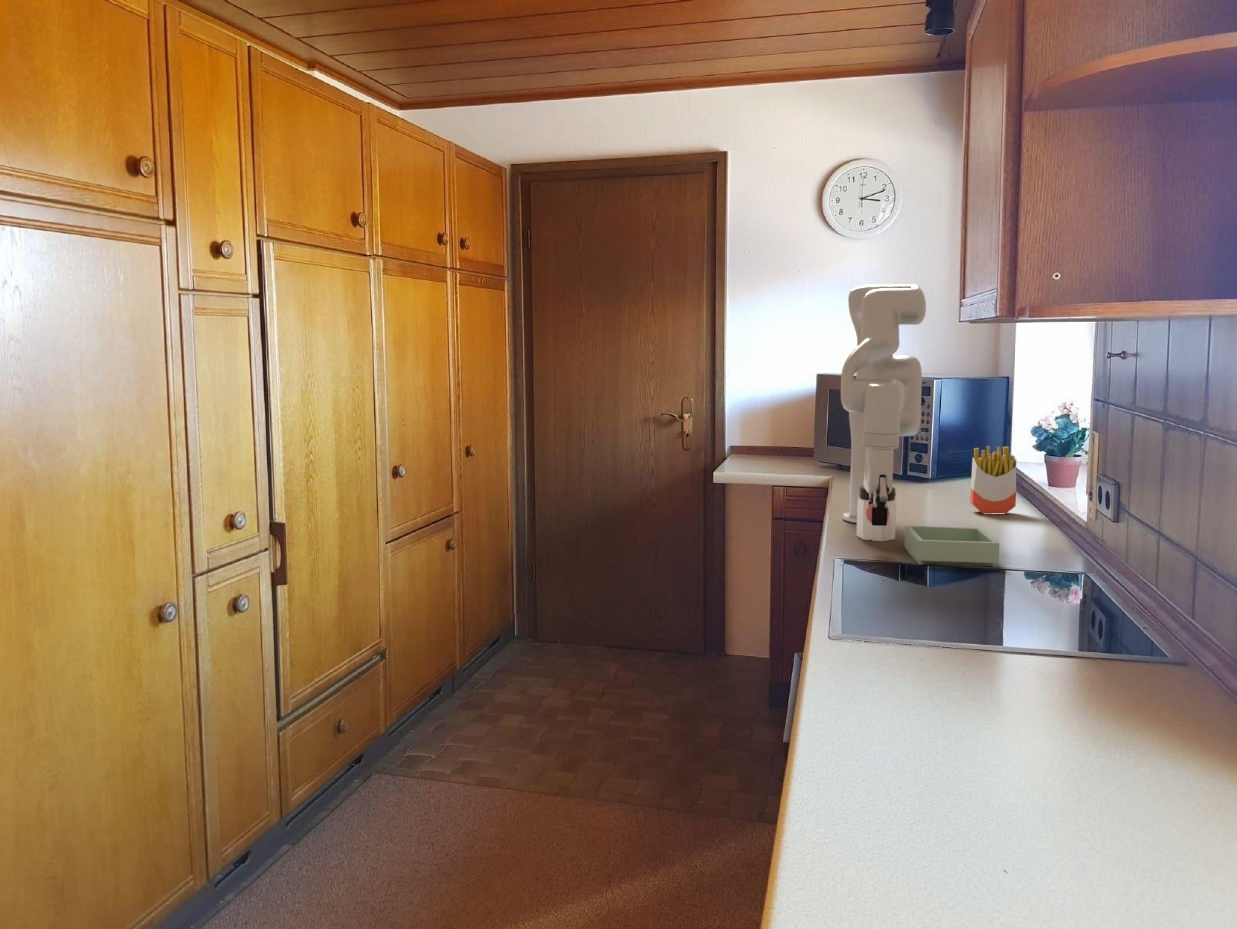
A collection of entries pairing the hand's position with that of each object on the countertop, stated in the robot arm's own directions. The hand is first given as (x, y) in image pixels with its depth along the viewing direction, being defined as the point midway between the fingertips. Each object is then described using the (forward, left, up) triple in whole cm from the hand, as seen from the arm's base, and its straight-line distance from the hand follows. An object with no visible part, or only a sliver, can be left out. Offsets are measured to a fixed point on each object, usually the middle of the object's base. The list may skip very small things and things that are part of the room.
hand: (877, 521), depth 204 cm
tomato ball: (0, 0, +2) cm, 2 cm away
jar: (-15, +2, -7) cm, 17 cm away
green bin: (+3, +15, -7) cm, 17 cm away
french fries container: (-53, +38, -7) cm, 66 cm away
